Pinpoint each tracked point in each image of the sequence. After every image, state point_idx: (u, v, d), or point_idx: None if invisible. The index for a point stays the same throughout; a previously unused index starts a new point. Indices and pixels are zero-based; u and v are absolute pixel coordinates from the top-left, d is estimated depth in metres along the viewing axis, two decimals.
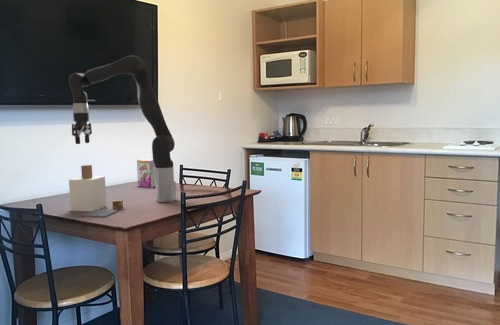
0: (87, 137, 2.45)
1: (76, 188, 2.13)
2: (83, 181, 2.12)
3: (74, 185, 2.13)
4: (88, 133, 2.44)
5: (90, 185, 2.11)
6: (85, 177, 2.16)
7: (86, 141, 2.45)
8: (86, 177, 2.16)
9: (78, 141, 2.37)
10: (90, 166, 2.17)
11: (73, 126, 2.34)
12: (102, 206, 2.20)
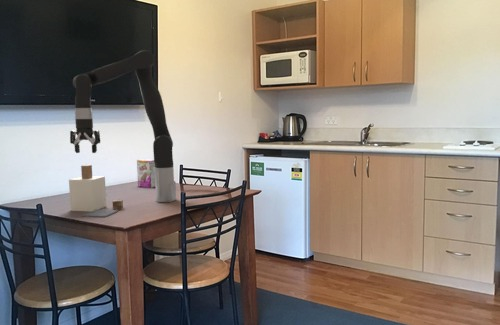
0: (78, 146, 2.17)
1: (76, 188, 2.13)
2: (83, 181, 2.12)
3: (74, 185, 2.13)
4: None
5: (90, 185, 2.11)
6: (85, 177, 2.16)
7: (78, 151, 2.17)
8: (86, 177, 2.16)
9: None
10: (90, 166, 2.17)
11: (97, 133, 2.13)
12: (102, 206, 2.20)
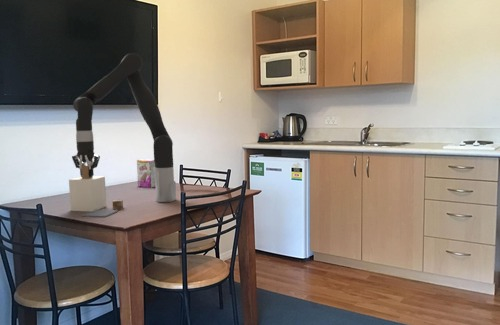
0: None
1: (76, 188, 2.13)
2: (83, 181, 2.12)
3: (74, 185, 2.13)
4: None
5: (90, 185, 2.11)
6: (85, 177, 2.16)
7: None
8: (86, 177, 2.16)
9: None
10: None
11: (97, 159, 2.15)
12: (102, 206, 2.20)
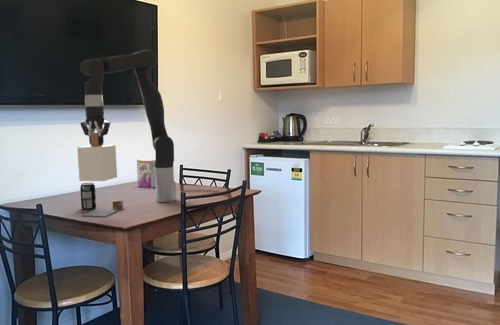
0: None
1: (85, 156, 1.99)
2: (93, 148, 1.98)
3: (83, 153, 1.99)
4: None
5: (100, 153, 1.97)
6: (95, 145, 2.02)
7: None
8: (96, 145, 2.02)
9: None
10: None
11: (108, 125, 2.01)
12: (113, 176, 2.06)
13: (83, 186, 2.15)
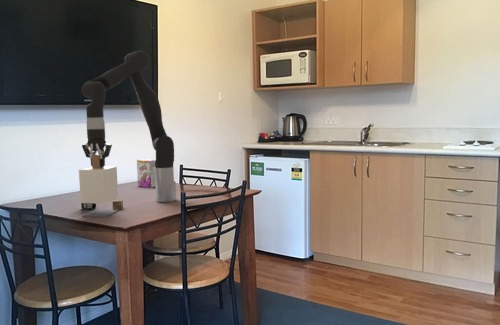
0: None
1: (86, 179, 2.00)
2: (94, 171, 1.99)
3: (84, 175, 2.00)
4: (94, 154, 2.06)
5: (101, 176, 1.98)
6: (96, 167, 2.03)
7: None
8: (97, 167, 2.03)
9: None
10: None
11: (109, 147, 2.02)
12: (114, 198, 2.07)
13: None
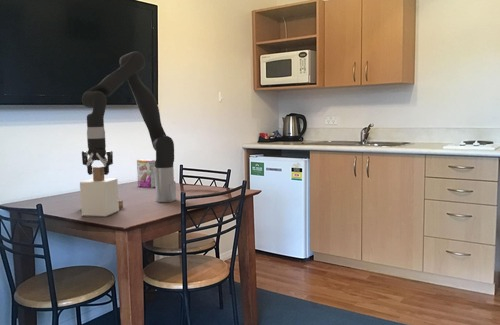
0: (91, 167, 2.06)
1: (87, 191, 2.00)
2: (95, 184, 1.99)
3: (85, 188, 2.00)
4: (92, 162, 2.06)
5: (102, 188, 1.99)
6: (97, 179, 2.03)
7: (90, 172, 2.05)
8: (98, 179, 2.03)
9: None
10: (102, 168, 2.05)
11: (110, 154, 2.02)
12: (115, 210, 2.08)
13: None
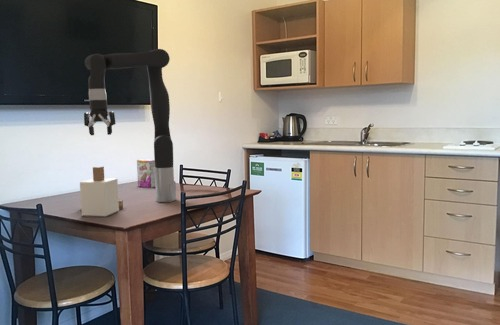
0: (93, 128, 2.13)
1: (87, 191, 2.00)
2: (95, 184, 1.99)
3: (85, 188, 2.00)
4: (93, 124, 2.13)
5: (102, 188, 1.99)
6: (97, 179, 2.03)
7: (92, 133, 2.12)
8: (98, 179, 2.03)
9: None
10: (102, 168, 2.05)
11: (112, 114, 2.09)
12: (115, 210, 2.08)
13: None
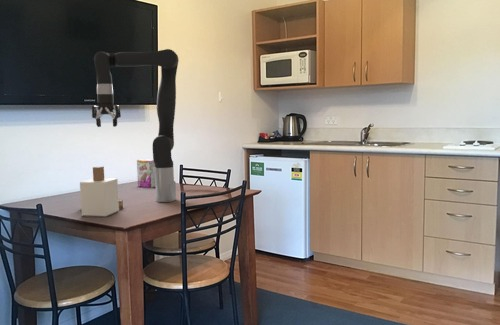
0: (100, 121, 2.30)
1: (87, 191, 2.00)
2: (95, 184, 1.99)
3: (85, 188, 2.00)
4: (100, 116, 2.30)
5: (102, 188, 1.99)
6: (97, 179, 2.03)
7: (99, 125, 2.29)
8: (98, 179, 2.03)
9: None
10: (102, 168, 2.05)
11: (118, 107, 2.26)
12: (115, 210, 2.08)
13: None
